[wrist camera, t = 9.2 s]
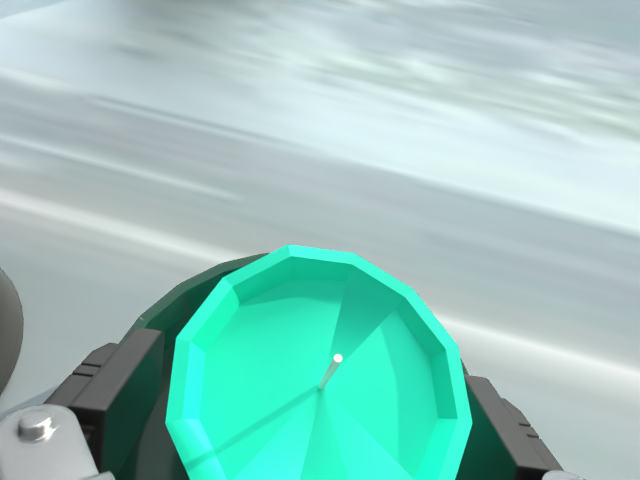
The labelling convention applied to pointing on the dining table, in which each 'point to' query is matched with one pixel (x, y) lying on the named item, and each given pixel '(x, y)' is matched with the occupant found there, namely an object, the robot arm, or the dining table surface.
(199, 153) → the dining table surface
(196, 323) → the candle
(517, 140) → the dining table surface
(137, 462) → the tin
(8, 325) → the stand
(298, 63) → the dining table surface
